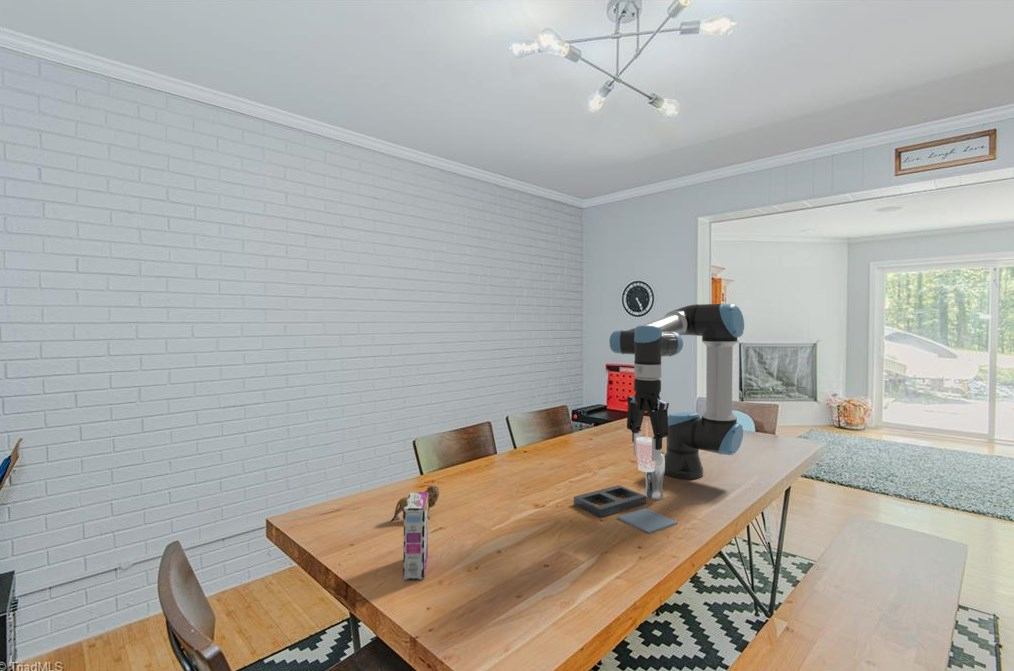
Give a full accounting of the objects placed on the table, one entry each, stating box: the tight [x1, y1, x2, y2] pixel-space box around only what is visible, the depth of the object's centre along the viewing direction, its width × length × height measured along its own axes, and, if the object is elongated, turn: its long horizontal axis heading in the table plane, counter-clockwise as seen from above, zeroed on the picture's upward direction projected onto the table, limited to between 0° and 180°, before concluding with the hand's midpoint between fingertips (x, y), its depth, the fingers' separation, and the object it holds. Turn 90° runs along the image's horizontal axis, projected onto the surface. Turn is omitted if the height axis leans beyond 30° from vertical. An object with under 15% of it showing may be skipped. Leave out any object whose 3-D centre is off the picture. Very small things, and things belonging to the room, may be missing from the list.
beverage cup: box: [636, 421, 655, 473], centre depth 139 cm, size 6×6×14 cm
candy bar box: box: [402, 491, 429, 581], centre depth 112 cm, size 11×5×16 cm, turn 5°
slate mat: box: [616, 507, 678, 535], centre depth 139 cm, size 12×12×1 cm
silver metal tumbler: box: [643, 450, 666, 501], centre depth 158 cm, size 7×7×15 cm
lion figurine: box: [390, 485, 440, 523], centre depth 141 cm, size 15×5×9 cm, turn 118°
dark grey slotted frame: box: [573, 484, 647, 518], centre depth 152 cm, size 20×12×2 cm, turn 122°
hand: (646, 457), depth 139 cm, fingers closed on beverage cup, 6 cm apart
